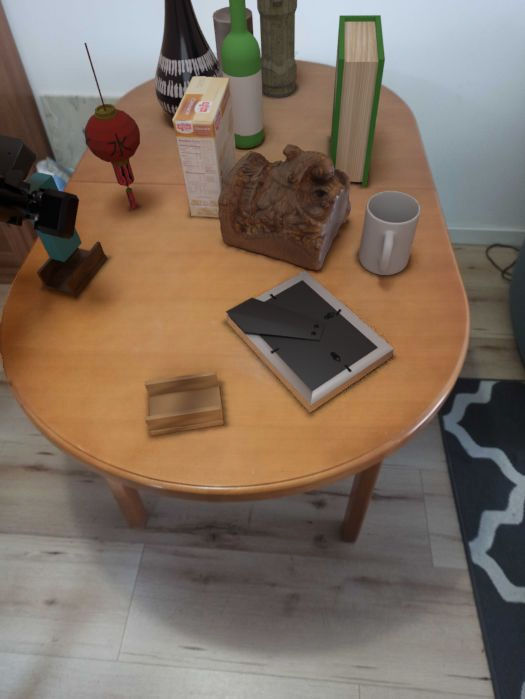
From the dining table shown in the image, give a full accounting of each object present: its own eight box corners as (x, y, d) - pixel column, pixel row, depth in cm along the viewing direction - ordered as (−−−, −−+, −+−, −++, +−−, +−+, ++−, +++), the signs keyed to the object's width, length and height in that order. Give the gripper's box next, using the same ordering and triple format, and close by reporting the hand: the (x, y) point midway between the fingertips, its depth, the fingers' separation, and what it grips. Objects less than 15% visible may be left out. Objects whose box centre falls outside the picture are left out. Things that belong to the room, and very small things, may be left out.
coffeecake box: (206, 171, 106) (191, 75, 91) (239, 172, 105) (230, 76, 90) (189, 216, 97) (170, 119, 82) (225, 219, 97) (213, 120, 81)
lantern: (164, 214, 98) (123, 48, 74) (116, 229, 96) (59, 63, 72) (150, 188, 103) (108, 25, 79) (105, 201, 101) (48, 38, 77)
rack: (76, 297, 86) (68, 281, 82) (44, 288, 87) (35, 272, 84) (107, 259, 91) (101, 242, 88) (76, 251, 93) (69, 234, 90)
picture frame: (227, 323, 81) (310, 413, 70) (225, 311, 79) (310, 402, 68) (304, 279, 86) (391, 357, 76) (304, 267, 84) (395, 345, 73)
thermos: (263, 102, 122) (255, -83, 94) (258, 79, 129) (250, -100, 102) (299, 99, 123) (302, -87, 95) (292, 76, 130) (293, -104, 102)
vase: (162, 103, 124) (132, -44, 101) (226, 97, 125) (212, -50, 101) (161, 138, 115) (128, -15, 91) (230, 132, 115) (216, -22, 91)
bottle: (241, 128, 116) (229, -29, 92) (270, 136, 113) (266, -23, 89) (222, 144, 112) (204, -15, 88) (252, 154, 109) (242, -8, 85)
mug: (360, 239, 91) (368, 187, 83) (409, 244, 90) (422, 192, 81) (353, 287, 84) (361, 236, 76) (406, 293, 83) (420, 242, 74)
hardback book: (366, 186, 101) (384, 59, 82) (329, 186, 101) (338, 59, 82) (364, 138, 111) (380, 15, 92) (330, 137, 112) (339, 15, 93)
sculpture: (311, 279, 82) (205, 244, 87) (340, 266, 98) (249, 237, 104) (345, 156, 75) (226, 128, 81) (370, 164, 91) (270, 140, 97)
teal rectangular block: (64, 262, 83) (31, 194, 73) (49, 258, 84) (14, 190, 73) (82, 243, 86) (52, 174, 75) (67, 239, 86) (36, 171, 76)
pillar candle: (259, 66, 134) (257, 0, 122) (249, 83, 128) (245, 17, 116) (225, 62, 136) (219, -2, 124) (213, 80, 130) (205, 14, 118)
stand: (151, 435, 69) (144, 421, 66) (150, 395, 73) (144, 380, 70) (223, 424, 70) (220, 410, 67) (219, 385, 74) (216, 369, 71)
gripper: (44, 142, 62) (115, 171, 77) (-74, 118, 66) (15, 151, 81) (30, 233, 64) (103, 244, 78) (-83, 204, 68) (5, 220, 83)
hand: (55, 213), depth 80 cm, fingers closed on teal rectangular block, 3 cm apart
